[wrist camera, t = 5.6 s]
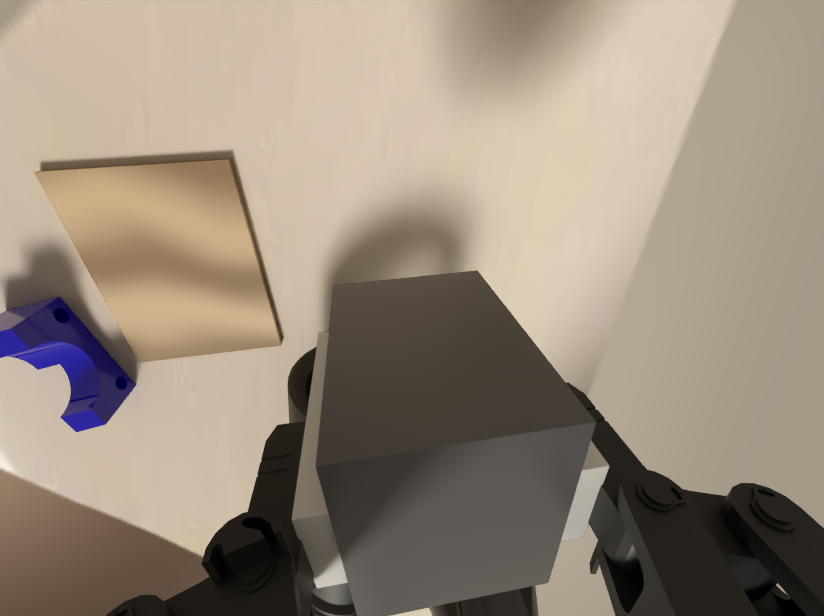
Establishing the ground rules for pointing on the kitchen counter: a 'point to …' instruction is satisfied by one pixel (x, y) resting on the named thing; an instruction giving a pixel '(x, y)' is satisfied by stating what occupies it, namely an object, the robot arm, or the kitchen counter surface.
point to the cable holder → (67, 359)
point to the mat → (168, 254)
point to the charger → (443, 444)
